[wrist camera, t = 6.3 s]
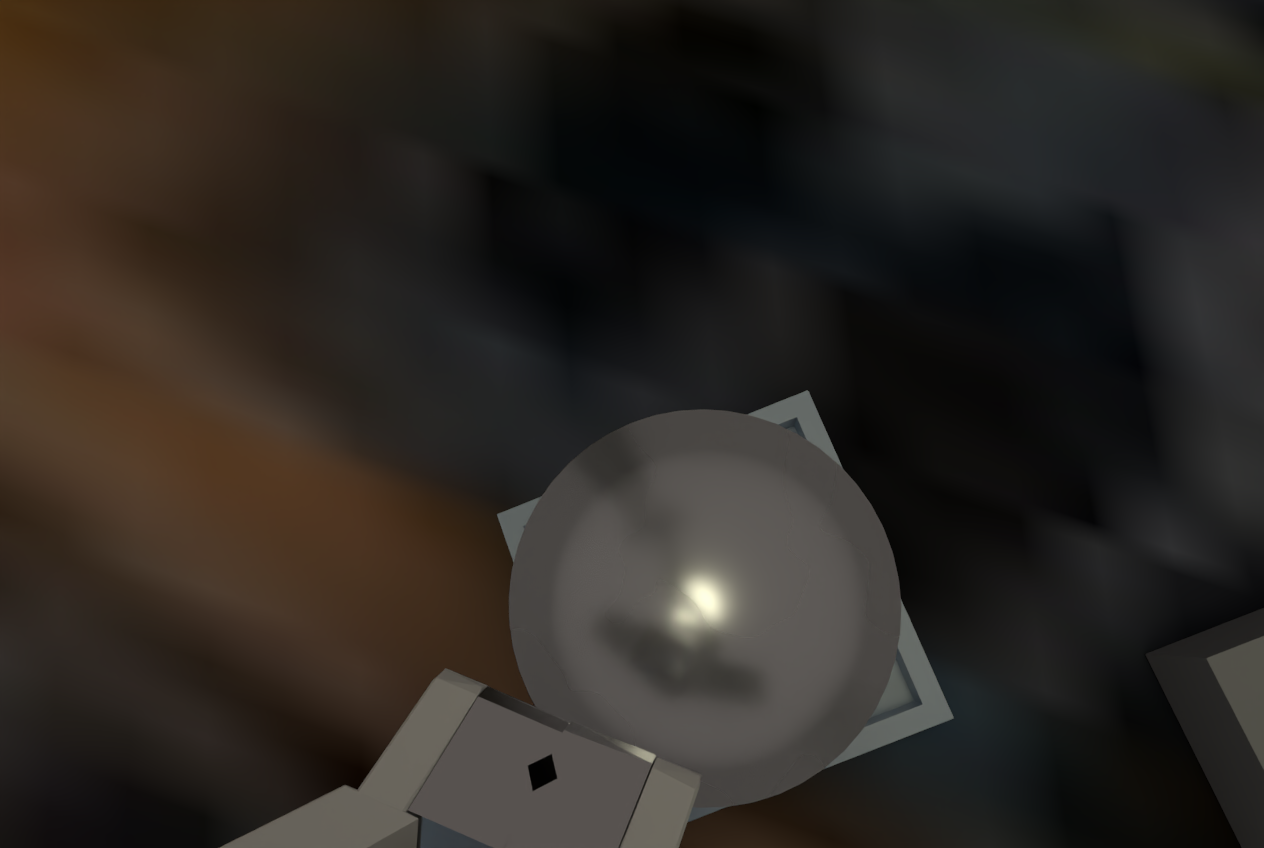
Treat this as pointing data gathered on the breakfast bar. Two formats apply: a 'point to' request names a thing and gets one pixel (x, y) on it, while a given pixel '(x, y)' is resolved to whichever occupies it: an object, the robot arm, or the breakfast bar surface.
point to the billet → (708, 600)
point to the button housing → (1223, 713)
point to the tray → (912, 680)
